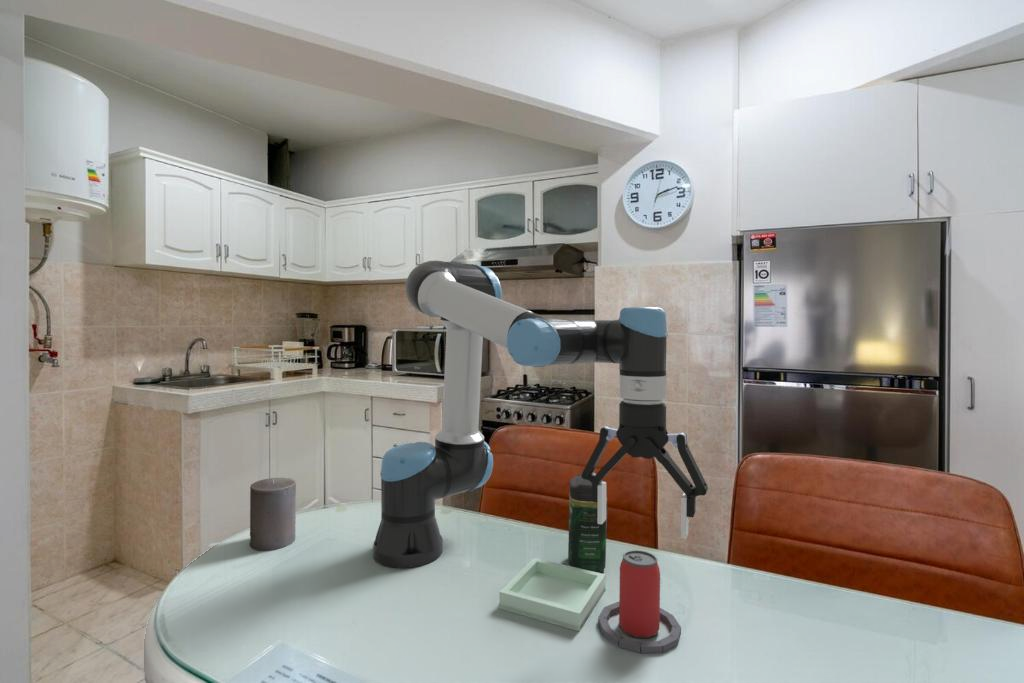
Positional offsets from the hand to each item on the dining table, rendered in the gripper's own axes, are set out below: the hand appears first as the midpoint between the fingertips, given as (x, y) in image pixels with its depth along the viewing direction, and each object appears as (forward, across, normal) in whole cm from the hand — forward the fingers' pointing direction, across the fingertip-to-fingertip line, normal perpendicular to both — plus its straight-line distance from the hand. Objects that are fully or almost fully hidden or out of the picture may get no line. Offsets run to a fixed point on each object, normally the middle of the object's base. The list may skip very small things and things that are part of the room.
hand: (641, 528), depth 84 cm
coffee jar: (+17, -15, +18) cm, 29 cm away
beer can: (+17, 0, 0) cm, 17 cm away
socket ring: (+17, 0, 0) cm, 17 cm away
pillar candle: (+16, -83, -5) cm, 85 cm away
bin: (+17, -16, +2) cm, 24 cm away
